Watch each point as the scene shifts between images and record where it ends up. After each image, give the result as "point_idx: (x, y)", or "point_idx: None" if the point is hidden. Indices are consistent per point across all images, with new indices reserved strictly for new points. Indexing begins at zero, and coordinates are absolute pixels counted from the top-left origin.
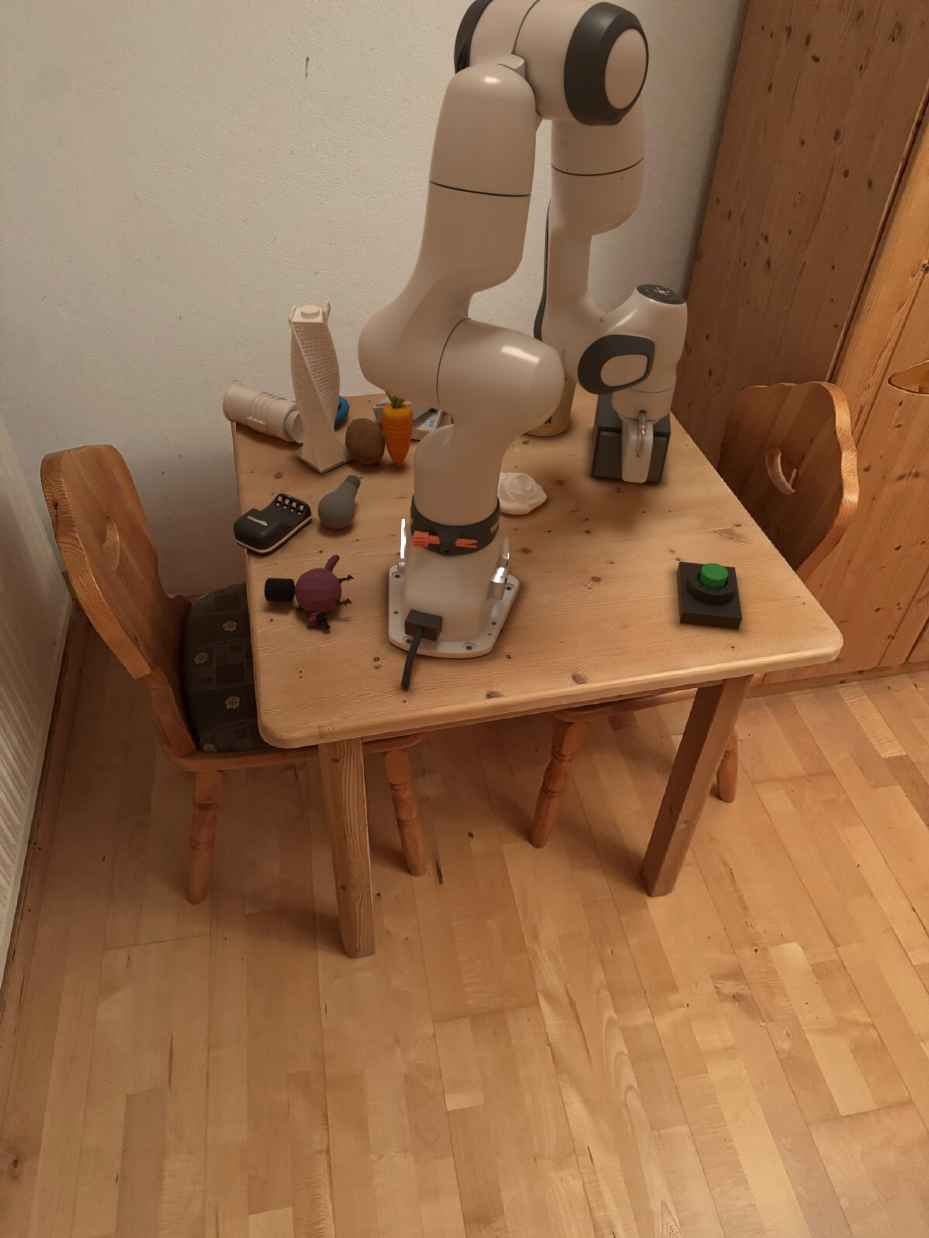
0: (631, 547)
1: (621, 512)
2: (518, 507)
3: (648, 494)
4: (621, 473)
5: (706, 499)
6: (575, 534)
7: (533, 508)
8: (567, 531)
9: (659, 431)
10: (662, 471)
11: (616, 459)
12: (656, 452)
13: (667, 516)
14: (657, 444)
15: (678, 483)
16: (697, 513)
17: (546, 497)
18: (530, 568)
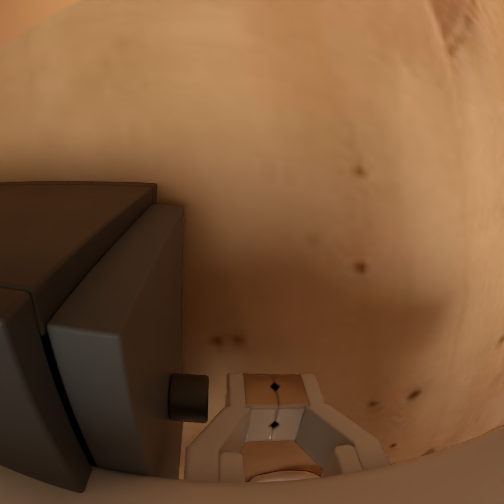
0: (483, 304)
1: (355, 333)
2: None
3: (247, 240)
4: (179, 361)
5: (267, 8)
6: (414, 411)
7: (319, 476)
8: (401, 424)
9: (43, 426)
10: (142, 195)
11: (175, 427)
12: (152, 320)
13: (387, 185)
14: (138, 369)
15: (151, 105)
16: (366, 66)
17: (303, 478)
18: (462, 437)
